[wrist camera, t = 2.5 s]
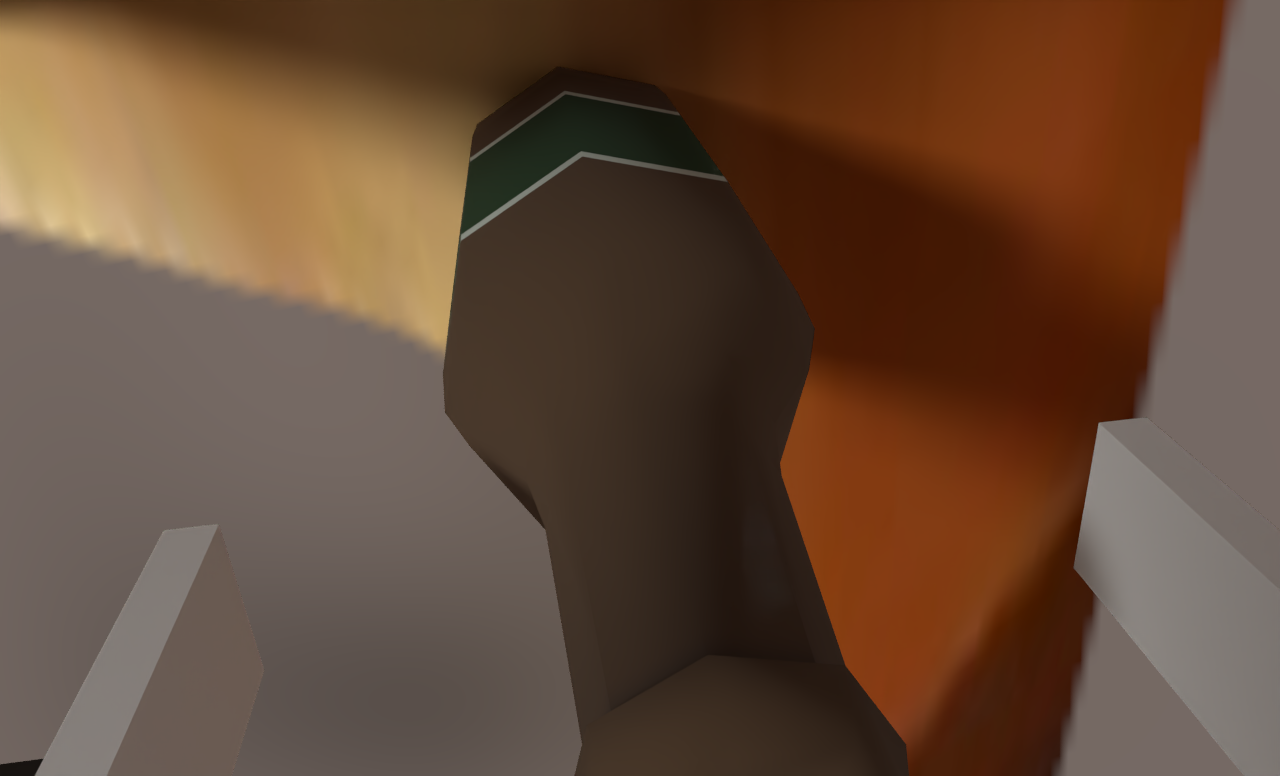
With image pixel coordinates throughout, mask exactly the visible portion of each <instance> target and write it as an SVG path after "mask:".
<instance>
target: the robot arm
mask: <svg viewBox="0 0 1280 776" xmlns="http://www.w3.org/2000/svg"><path fill="white" fill-rule="evenodd" d="M1074 569H1075V570H1076V571H1077V572H1078V573H1079V575H1080V576H1081V577H1082V578H1083V580H1084V581H1085V582H1086V583H1087V584H1088V586H1089V587H1090V588H1091V589H1092V591H1093V592H1094V593H1095V594H1096V595H1097V597H1098V598H1099V599H1100V600H1101V602H1102V603H1103V604H1104V605H1105V606H1106V608H1107V609H1108V610H1109V611H1110V612H1111V614H1112V615H1113V616H1114V617H1115V619H1116V620H1117V621H1118V622H1119V623H1120V625H1121V626H1122V627H1123V628H1124V630H1125V631H1126V632H1127V633H1128V635H1129V636H1130V637H1131V638H1132V639H1133V641H1134V642H1135V643H1136V644H1137V646H1138V647H1139V648H1140V649H1141V650H1142V652H1143V653H1144V654H1145V655H1146V657H1147V658H1148V659H1149V660H1150V661H1151V663H1152V664H1153V665H1154V666H1155V668H1156V669H1157V670H1158V671H1159V672H1160V674H1161V675H1162V676H1163V677H1164V679H1165V680H1166V681H1167V682H1168V683H1169V685H1170V686H1171V687H1172V688H1173V690H1174V691H1175V692H1176V693H1177V694H1178V696H1179V697H1180V698H1181V699H1182V701H1183V702H1184V703H1185V704H1186V705H1187V707H1188V708H1189V709H1190V710H1191V711H1192V712H1193V714H1194V715H1195V716H1196V718H1197V719H1198V720H1199V721H1200V722H1201V724H1202V725H1203V726H1204V727H1205V728H1206V730H1207V731H1208V732H1209V734H1210V735H1211V736H1212V737H1213V738H1214V740H1215V741H1216V742H1217V743H1218V745H1219V746H1220V747H1221V748H1222V749H1223V751H1224V752H1225V753H1226V754H1227V756H1228V757H1229V758H1230V759H1231V760H1232V762H1233V763H1234V764H1235V765H1236V767H1237V768H1238V769H1239V770H1240V771H1241V773H1242V774H1243V775H1244V776H1280V530H1279V529H1278V528H1277V527H1276V526H1275V525H1273V524H1272V523H1271V522H1269V520H1268V519H1266V518H1265V517H1264V516H1263V515H1261V514H1260V513H1259V512H1258V511H1257V510H1256V509H1254V508H1253V507H1252V506H1251V505H1250V504H1248V503H1247V502H1246V501H1245V500H1244V499H1243V498H1241V497H1240V496H1239V495H1238V494H1237V493H1236V492H1234V491H1233V490H1232V489H1231V488H1230V487H1229V486H1227V485H1226V484H1225V483H1224V482H1223V481H1221V480H1220V479H1219V478H1218V477H1217V476H1216V475H1214V474H1213V473H1212V472H1211V471H1210V470H1208V469H1207V468H1206V467H1205V466H1204V465H1203V464H1201V463H1200V462H1199V461H1198V460H1197V459H1195V458H1194V457H1193V456H1192V455H1191V454H1190V453H1188V452H1187V451H1186V450H1185V449H1184V448H1182V447H1181V446H1180V445H1179V444H1177V442H1175V441H1174V440H1173V439H1172V438H1171V437H1170V436H1168V435H1167V434H1166V433H1165V432H1164V431H1162V430H1161V429H1160V428H1159V427H1158V426H1156V425H1155V424H1154V423H1153V422H1152V421H1151V420H1149V419H1148V418H1147V417H1144V418H1135V419H1126V420H1118V421H1109V422H1100V423H1099V425H1098V431H1097V436H1096V442H1095V448H1094V454H1093V459H1092V465H1091V471H1090V477H1089V483H1088V488H1087V494H1086V500H1085V506H1084V511H1083V517H1082V523H1081V529H1080V535H1079V540H1078V546H1077V552H1076V558H1075V563H1074ZM263 672H264V668H263V665H262V662H261V658H260V655H259V652H258V649H257V646H256V642H255V639H254V636H253V633H252V629H251V626H250V623H249V620H248V617H247V614H246V610H245V607H244V603H243V601H242V597H241V594H240V591H239V587H238V584H237V581H236V578H235V574H234V571H233V568H232V565H231V561H230V558H229V555H228V552H227V549H226V545H225V542H224V539H223V536H222V533H221V529H220V526H219V524H215V525H206V526H198V527H189V528H181V529H172V530H164V531H163V533H162V535H161V537H160V539H159V540H158V542H157V544H156V546H155V548H154V550H153V552H152V554H151V556H150V558H149V559H148V561H147V563H146V565H145V567H144V569H143V571H142V573H141V575H140V577H139V579H138V580H137V582H136V584H135V586H134V588H133V590H132V592H131V594H130V596H129V597H128V599H127V602H126V603H125V605H124V607H123V609H122V611H121V613H120V615H119V616H118V618H117V620H116V622H115V624H114V626H113V628H112V630H111V632H110V634H109V636H108V638H107V639H106V641H105V643H104V645H103V647H102V649H101V651H100V653H99V655H98V656H97V658H96V660H95V662H94V664H93V666H92V668H91V670H90V672H89V674H88V676H87V677H86V679H85V681H84V683H83V685H82V687H81V689H80V691H79V693H78V695H77V696H76V698H75V700H74V702H73V704H72V706H71V708H70V710H69V712H68V713H67V715H66V718H65V719H64V721H63V723H62V725H61V727H60V729H59V731H58V732H57V734H56V736H55V738H54V740H53V742H52V744H51V746H50V748H49V750H48V752H47V754H46V755H45V757H44V759H38V760H31V761H23V762H15V763H8V764H1V765H0V776H232V773H233V770H234V766H235V763H236V760H237V757H238V754H239V750H240V747H241V744H242V740H243V737H244V734H245V731H246V727H247V724H248V721H249V718H250V714H251V711H252V708H253V705H254V701H255V698H256V695H257V692H258V688H259V685H260V682H261V678H262V675H263Z"/></svg>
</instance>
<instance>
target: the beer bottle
mask: <svg viewBox="0 0 1280 776" xmlns="http://www.w3.org/2000/svg"><path fill="white" fill-rule="evenodd" d="M814 330H815V329H814V327H813V324H812V322H811V320H810V318H809V316H808V314H807V312H806V310H805V307H804V305H803V303H802V301H801V299H800V297H799V295H798V293H797V291H796V290H795V288H794V286H793V285H792V283H791V282H790V280H789V278H788V277H787V275H786V274H785V272H784V270H783V269H782V267H781V266H780V264H779V263H778V261H777V259H776V258H775V256H774V255H773V253H772V251H771V250H770V248H769V247H768V245H767V243H766V242H765V240H764V239H763V237H762V235H761V234H760V232H759V231H758V229H757V228H756V226H755V224H754V223H753V221H752V220H751V218H750V216H749V215H748V213H747V212H746V210H745V208H744V207H743V205H742V204H741V202H740V200H739V199H738V197H737V196H736V194H735V193H734V191H733V189H732V188H731V186H730V185H729V183H728V181H727V180H726V179H725V177H724V176H723V174H722V173H721V172H720V170H719V169H718V167H717V166H716V165H715V163H714V162H713V160H712V159H711V158H710V156H709V155H708V153H707V152H706V151H705V149H704V148H703V146H702V145H701V144H700V142H699V141H698V139H697V138H696V137H695V135H694V134H693V132H692V131H691V130H690V128H689V127H688V125H687V124H686V122H685V121H684V120H683V118H682V117H681V115H680V114H679V113H678V111H677V110H676V108H675V107H674V106H673V104H672V103H671V101H670V100H669V99H668V97H667V96H666V94H664V93H663V92H662V91H661V90H660V89H659V88H657V87H656V86H655V85H650V84H645V83H640V82H635V81H630V80H624V79H619V78H614V77H609V76H604V75H598V74H593V73H588V72H583V71H578V70H572V69H567V68H562V67H557V68H555V69H554V70H553V71H551V72H550V73H548V74H547V75H546V76H544V77H543V78H541V79H540V80H539V81H537V82H536V83H534V84H533V85H532V86H530V87H529V88H527V89H526V90H525V91H523V92H522V93H520V94H519V95H518V96H516V97H515V98H513V99H512V100H511V101H509V102H508V103H506V104H505V105H504V106H502V107H501V108H499V109H498V110H497V111H495V112H494V113H492V114H491V115H490V116H488V117H487V118H485V119H484V120H483V121H481V122H480V123H479V124H477V126H476V129H475V132H474V134H473V137H472V145H471V152H470V160H469V167H468V175H467V183H466V190H465V198H464V205H463V213H462V221H461V228H460V236H459V244H458V252H457V260H456V269H455V277H454V285H453V294H452V302H451V310H450V319H449V327H448V335H447V344H446V352H445V360H444V370H443V382H444V399H445V400H444V401H445V413H446V414H447V416H448V417H449V418H450V420H451V421H452V422H453V424H454V425H455V426H456V428H457V429H458V431H459V432H460V433H461V435H462V436H463V437H464V439H465V440H466V441H467V443H468V444H469V446H470V447H471V448H472V449H473V450H474V451H475V452H476V453H477V454H478V455H479V457H480V458H481V459H482V460H483V461H484V462H485V463H486V464H487V466H488V467H489V468H490V469H491V470H492V471H493V472H494V473H495V474H496V475H497V477H498V478H499V479H500V480H501V481H502V482H503V483H504V484H505V486H507V488H508V489H509V490H510V491H511V492H512V493H513V494H514V495H515V497H516V498H517V499H518V500H519V501H520V502H521V503H522V504H523V505H524V506H525V508H526V509H527V510H528V511H529V512H530V513H531V514H532V515H533V517H535V519H536V520H537V521H538V522H539V523H540V524H541V525H542V526H543V528H544V529H545V530H546V535H547V540H548V546H549V552H550V558H551V564H552V570H553V576H554V582H555V587H556V593H557V599H558V605H559V611H560V617H561V623H562V628H563V635H564V640H565V646H566V652H567V658H568V664H569V670H570V675H571V681H572V687H573V693H574V699H575V705H576V710H577V717H578V722H579V728H580V734H581V740H582V747H581V751H580V756H579V759H578V764H577V768H576V772H575V776H909V773H908V762H907V751H906V744H905V743H904V741H903V740H902V739H901V737H900V736H899V735H898V734H897V732H896V731H895V730H894V728H893V727H892V726H891V724H890V723H889V722H888V721H887V719H886V718H885V717H884V715H883V714H882V713H881V711H880V710H879V709H878V708H877V706H876V705H875V704H874V702H873V701H872V700H871V699H870V697H869V696H868V695H867V693H866V692H865V691H864V689H863V688H862V687H861V686H860V684H859V683H858V682H857V680H856V679H855V678H854V676H853V675H852V674H851V673H850V671H849V670H848V669H847V667H846V666H845V663H844V660H843V657H842V654H841V651H840V648H839V645H838V642H837V639H836V636H835V634H834V631H833V628H832V625H831V622H830V619H829V616H828V613H827V610H826V607H825V604H824V601H823V598H822V595H821V592H820V589H819V586H818V583H817V580H816V577H815V574H814V571H813V568H812V565H811V562H810V559H809V556H808V553H807V550H806V547H805V544H804V541H803V538H802V535H801V532H800V529H799V526H798V523H797V520H796V517H795V515H794V512H793V509H792V506H791V503H790V500H789V497H788V494H787V491H786V488H785V485H784V482H783V479H782V476H781V468H780V461H781V458H782V455H783V451H784V448H785V445H786V442H787V439H788V435H789V432H790V429H791V426H792V422H793V419H794V416H795V413H796V409H797V406H798V403H799V400H800V397H801V393H802V390H803V387H804V384H805V380H806V377H807V374H808V371H809V365H810V358H811V351H812V344H813V337H814Z"/></svg>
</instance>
